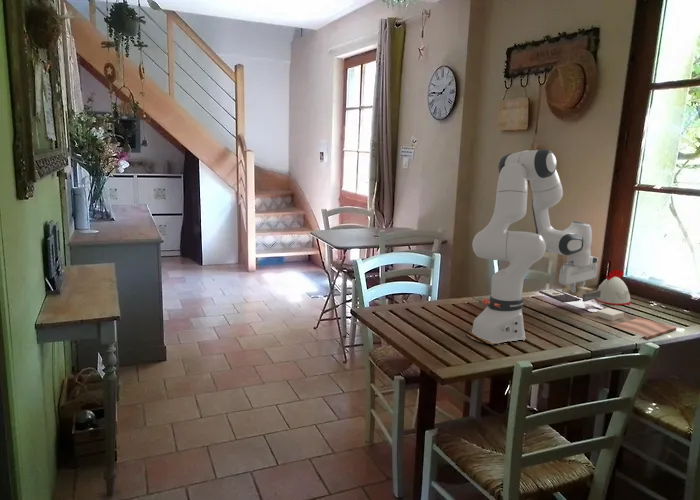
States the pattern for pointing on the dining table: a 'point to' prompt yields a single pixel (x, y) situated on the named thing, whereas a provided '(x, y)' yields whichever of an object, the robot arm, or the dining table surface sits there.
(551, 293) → the chocolate bar
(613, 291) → the kitchen timer
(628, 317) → the board
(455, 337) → the dining table surface
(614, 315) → the tile
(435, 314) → the dining table surface
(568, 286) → the squeegee
